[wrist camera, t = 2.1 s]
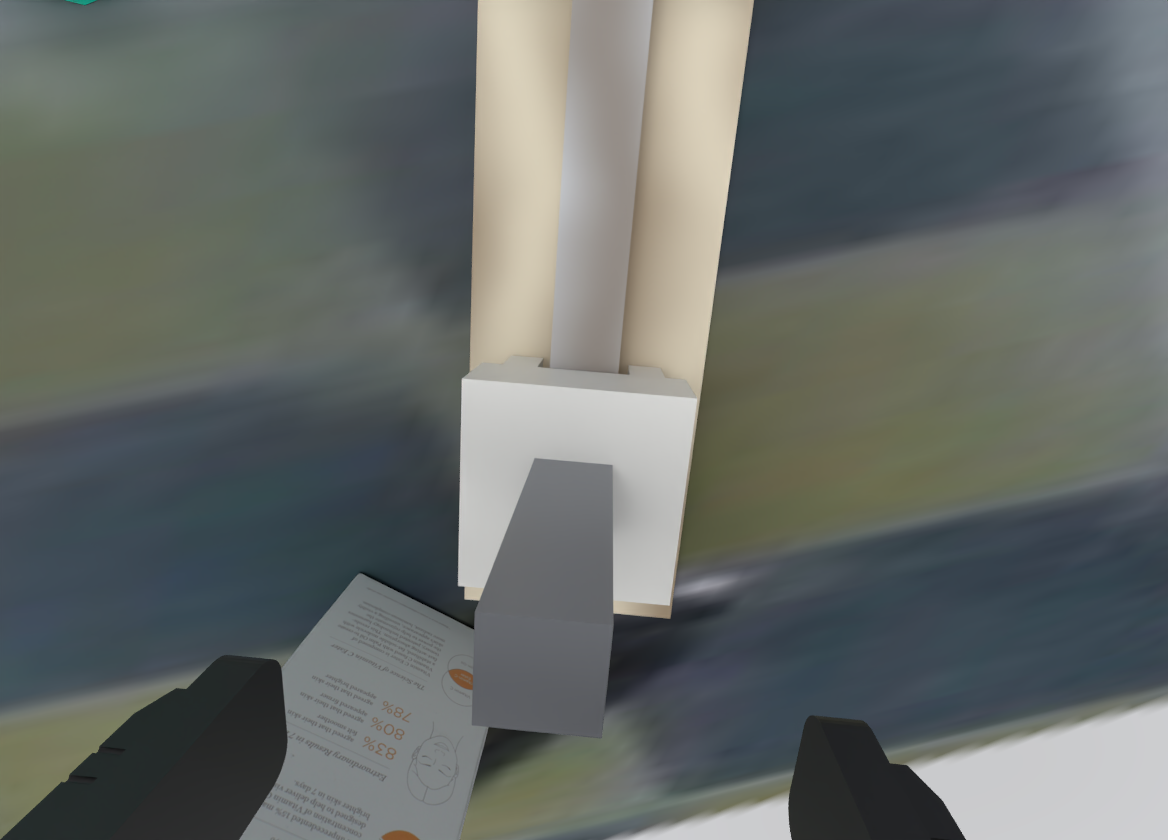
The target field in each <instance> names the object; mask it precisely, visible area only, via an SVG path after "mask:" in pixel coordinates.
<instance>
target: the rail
mask: <svg viewBox="0 0 1168 840" xmlns="http://www.w3.org/2000/svg"><path fill="white" fill-rule="evenodd" d="M753 3H754V0H478V28H477V72H476V116H475V160H474V204H473V248H472V292H471V336H470V372H471V371H472V370H473V369H475V368H476V367H477V366H478V365H480V364H481V363H482V362H483V363H495V364H503V363H504V362H505V361H506V360H507V359H508V358H510V357H511V356H512V355H514V356H525V357H537V358H543V368H554V369H566V370H578V371H590V372H602V373H614V374H625V375H628V365H633V366H644V367H656V368H661V370H662V372H663V374H664V377H665V378H673V379H685V380H686V381H687V383H688V384H689V386H690V387H691V389H692V391H693V392H694V394H695V395H696V397H697V406H696V413H695V420H694V428H693V435H692V443H691V450H690V458H689V465H688V473H687V480H686V487H685V495H684V502H683V510H682V517H681V525H680V532H679V540H678V547H677V554H676V562H675V569H674V577H673V584H672V592H671V599H670V606H668V605H657V604H646V603H636V602H625V601H614V600H613V613H616V614H627V615H637V616H648V617H659V618H669V619H670V616H671V608H672V601H673V593H674V586H675V579H676V571H677V564H678V557H679V549H680V542H681V534H682V527H683V520H684V512H685V505H686V498H687V490H688V483H689V475H690V468H691V461H692V453H693V446H694V439H695V431H696V424H697V416H698V409H699V402H700V394H701V387H702V380H703V372H704V365H705V357H706V350H707V343H708V335H709V328H710V321H711V313H712V306H713V298H714V291H715V284H716V276H717V269H718V262H719V254H720V247H721V239H722V232H723V225H724V217H725V210H726V203H727V195H728V188H729V180H730V173H731V166H732V158H733V151H734V144H735V136H736V129H737V121H738V114H739V107H740V99H741V92H742V85H743V77H744V70H745V62H746V55H747V48H748V40H749V33H750V26H751V18H752V11H753ZM483 590H484V588H476V587H465V599H468V600H480V597H481V595H482V592H483Z"/></svg>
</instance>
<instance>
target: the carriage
mask: <svg viewBox="0 0 1168 840" xmlns="http://www.w3.org/2000/svg"><path fill="white" fill-rule="evenodd" d="M696 406H697V397H696V395H695V394H694V392H693V391H692V389H691V387H690V386H689V384H688V383H687V381H686V380H685V379H673V378H665V377H664V374H663V372H662V370H661V368H656V367H644V366H633V365H628V375H625V374H614V373H602V372H590V371H578V370H566V369H554V368H543V358H537V357H525V356H514V355H512V356H511V357H510V358H508V359H507V360H506V361H505V362H504V363H503V364H495V363H483V362H482V363H481V364H480V365H478V366H477V367H476V368H475V369H473V370H472V371H471V372H470V373H468V374H467V375H466V376H465V377H463V378H462V402H461V454H460V507H459V560H458V586H465V587H476V588H484V590H483V592H482V595H481V597H480V600H479V603H478V605H477V608H476V610H475V623H474V658H473V693H472V725H473V726H483V727H493V728H503V729H513V730H523V731H533V732H543V733H553V734H563V735H573V736H583V737H593V738H602V730H603V720H604V711H605V701H606V692H607V682H608V673H609V663H610V654H611V644H612V635H613V600H614V601H625V602H636V603H646V604H657V605H668V606H670V599H671V592H672V584H673V577H674V569H675V562H676V554H677V547H678V540H679V532H680V525H681V517H682V510H683V502H684V495H685V487H686V480H687V473H688V465H689V458H690V450H691V443H692V435H693V428H694V420H695V413H696Z"/></svg>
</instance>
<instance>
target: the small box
mask: <svg viewBox="0 0 1168 840" xmlns="http://www.w3.org/2000/svg"><path fill="white" fill-rule="evenodd" d="M473 658H474V630H473V629H471V628H469V627H467V626H465V625H463V624H461V623H459V622H458V621H456V620H454V619H452V618H450V617H448V616H446V615H444V614H442V613H440V612H438V611H436V610H434V609H432V608H430V607H428V606H426V605H424V604H421V603H419V602H417V601H415V600H413V599H411V598H409V597H407V596H405V595H403V594H401V593H399V592H397V591H395V590H393V589H391V588H389V587H387V586H385V585H383V584H381V583H379V582H377V581H375V580H373V579H371V578H369V577H367V576H365V575H363V574H361V573H359V574H358V575H357V576H356V577H355V578H354V579H353V581H352V582H351V583H350V584H349V585H348V587H347V588H346V589H345V590H344V592H343V593H342V594H341V595H340V596H339V598H338V599H337V600H336V601H335V603H334V604H333V605H332V607H331V608H330V609H329V610H328V611H327V612H326V613H325V615H324V616H323V617H322V618H321V620H320V621H319V622H318V623H317V624H316V626H315V627H314V628H313V629H312V631H311V632H310V633H309V634H308V635H307V637H306V638H305V639H304V640H303V642H302V643H301V644H300V646H299V647H298V648H297V649H296V651H295V652H294V653H293V654H292V656H291V657H290V658H289V660H288V661H287V662H286V663H285V665H284V666H283V667H282V668H281V670H282V679H283V691H284V702H285V714H286V725H287V736H288V743H287V752H286V756H285V760H284V764H283V767H282V770H281V772H280V775H279V777H278V779H277V781H276V783H275V785H274V787H273V788H272V790H271V791H270V793H269V795H268V796H267V798H266V799H265V801H264V802H263V804H262V805H261V807H260V808H259V810H258V811H257V813H256V815H255V816H254V818H253V819H252V821H251V822H250V824H249V825H248V827H247V828H246V830H245V831H244V833H243V835H242V836H241V838H240V839H239V840H460V836H461V832H462V828H463V824H464V820H465V816H466V812H467V808H468V804H469V800H470V797H471V793H472V789H473V785H474V781H475V777H476V773H477V769H478V766H479V762H480V758H481V754H482V750H483V747H484V743H485V739H486V735H487V731H488V728H489V727H483V726H473V725H472V693H473Z"/></svg>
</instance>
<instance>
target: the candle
mask: <svg viewBox="0 0 1168 840" xmlns="http://www.w3.org/2000/svg"><path fill="white" fill-rule="evenodd" d="M66 1H70V2H74V3H78V4H82V5H87V4H89V3H91V2H94V1H96V0H66Z"/></svg>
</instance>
